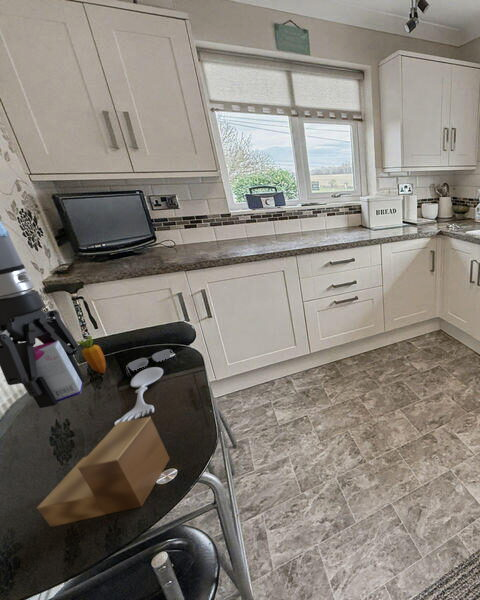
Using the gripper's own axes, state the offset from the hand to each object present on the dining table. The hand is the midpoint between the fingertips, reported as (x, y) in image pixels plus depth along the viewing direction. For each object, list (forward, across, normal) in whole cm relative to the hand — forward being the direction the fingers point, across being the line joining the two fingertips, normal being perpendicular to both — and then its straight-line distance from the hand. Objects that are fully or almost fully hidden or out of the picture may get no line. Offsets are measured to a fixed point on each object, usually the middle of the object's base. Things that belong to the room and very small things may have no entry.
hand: (64, 393), depth 70 cm
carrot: (+19, +48, +27) cm, 59 cm away
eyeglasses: (+19, +46, +9) cm, 51 cm away
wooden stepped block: (+19, -11, -9) cm, 24 cm away
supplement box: (0, 0, 0) cm, 0 cm away
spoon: (+19, +26, +3) cm, 33 cm away
